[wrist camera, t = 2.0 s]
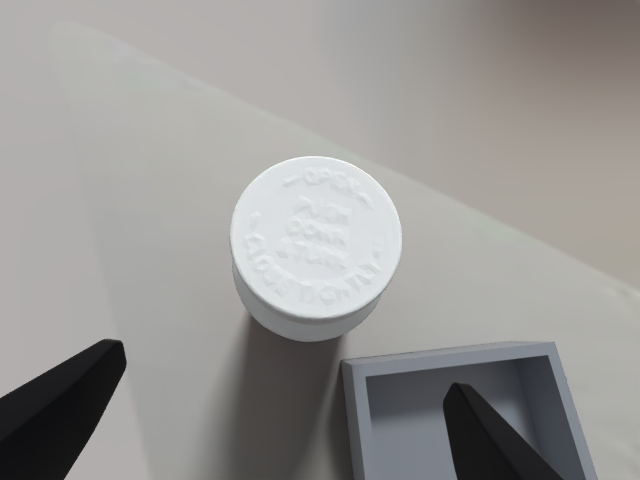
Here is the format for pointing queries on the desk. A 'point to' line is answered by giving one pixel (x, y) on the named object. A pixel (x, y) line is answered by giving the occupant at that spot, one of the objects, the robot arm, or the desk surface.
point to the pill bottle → (313, 247)
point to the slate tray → (428, 417)
